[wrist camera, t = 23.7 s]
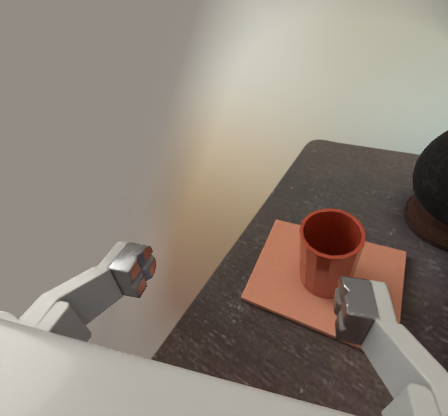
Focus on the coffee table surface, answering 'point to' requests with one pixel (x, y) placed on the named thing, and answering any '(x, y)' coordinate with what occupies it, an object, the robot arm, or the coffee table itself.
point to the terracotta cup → (329, 249)
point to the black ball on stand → (430, 194)
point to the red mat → (299, 296)
